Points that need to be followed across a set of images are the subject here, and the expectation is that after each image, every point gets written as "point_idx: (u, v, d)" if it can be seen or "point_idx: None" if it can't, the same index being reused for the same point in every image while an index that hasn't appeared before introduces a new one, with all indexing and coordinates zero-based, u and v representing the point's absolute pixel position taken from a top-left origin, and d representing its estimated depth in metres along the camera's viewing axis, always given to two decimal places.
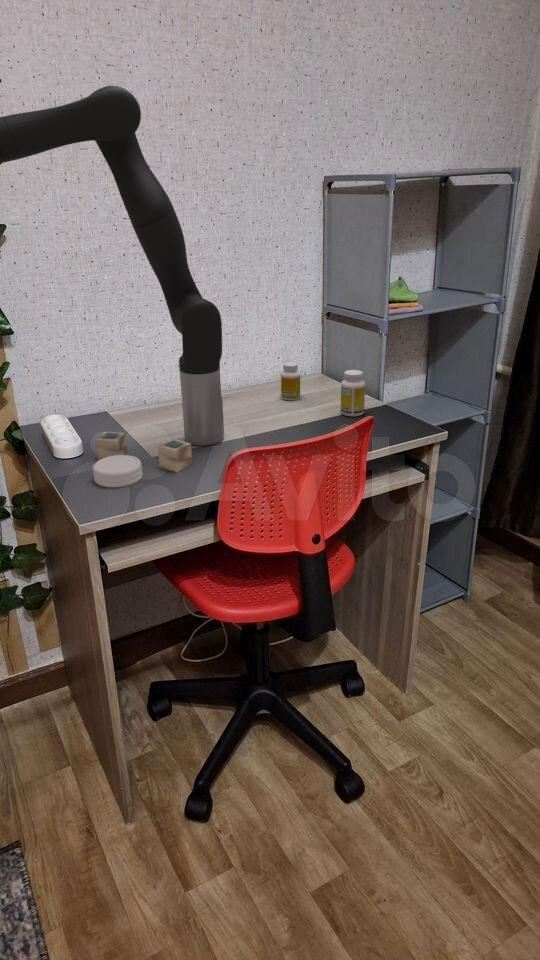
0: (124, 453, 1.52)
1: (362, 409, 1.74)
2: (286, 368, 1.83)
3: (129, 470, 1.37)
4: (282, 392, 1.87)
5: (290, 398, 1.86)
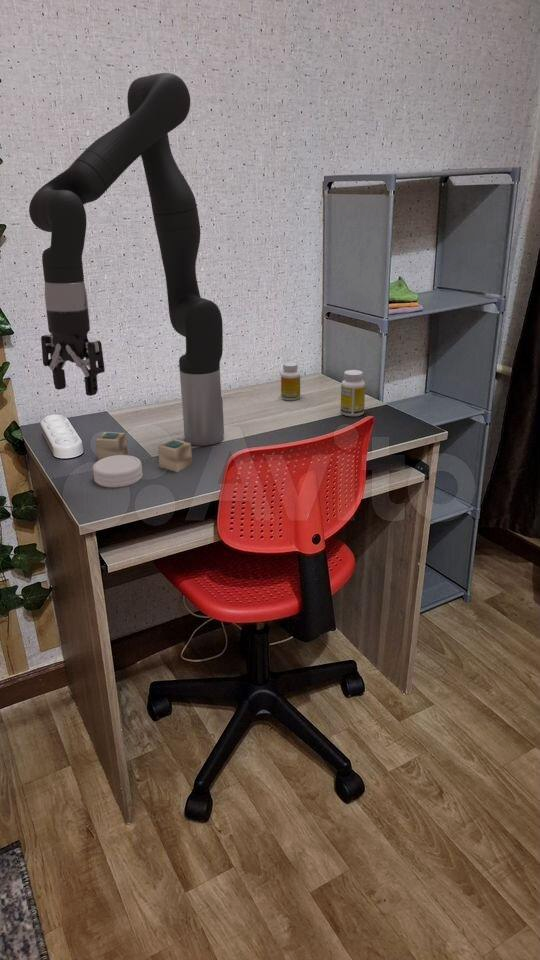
0: (124, 453, 1.52)
1: (362, 409, 1.74)
2: (286, 368, 1.83)
3: (129, 470, 1.37)
4: (282, 392, 1.87)
5: (290, 398, 1.86)
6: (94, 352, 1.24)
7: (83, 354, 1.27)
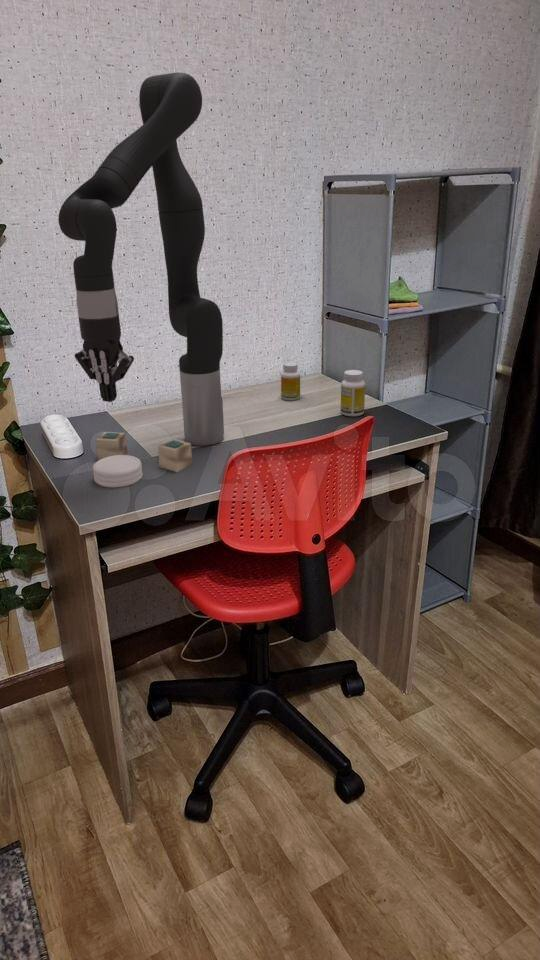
0: (124, 453, 1.52)
1: (362, 409, 1.74)
2: (286, 368, 1.83)
3: (129, 470, 1.37)
4: (282, 392, 1.87)
5: (290, 398, 1.86)
6: (124, 367, 1.29)
7: None
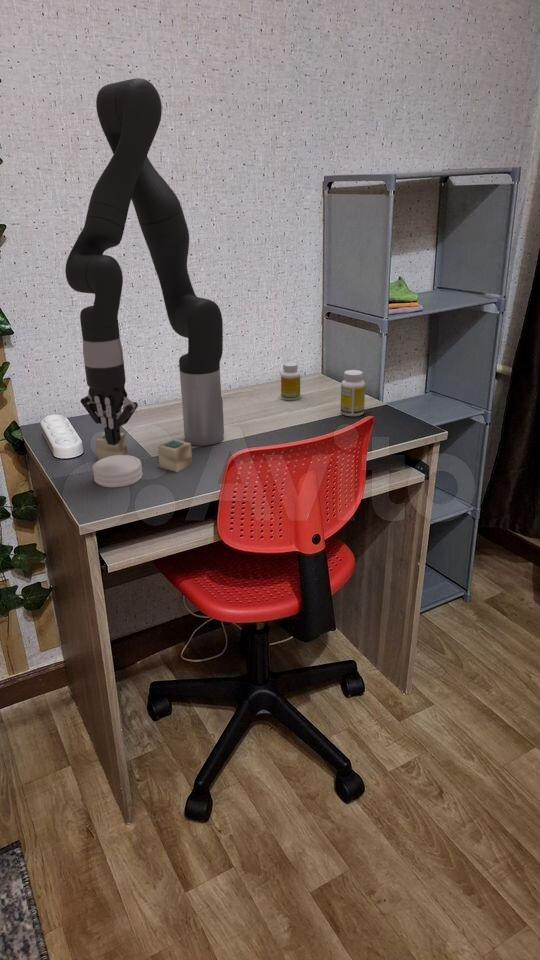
0: (124, 453, 1.52)
1: (362, 409, 1.74)
2: (286, 368, 1.83)
3: (129, 470, 1.37)
4: (282, 392, 1.87)
5: (290, 398, 1.86)
6: (128, 413, 1.33)
7: None
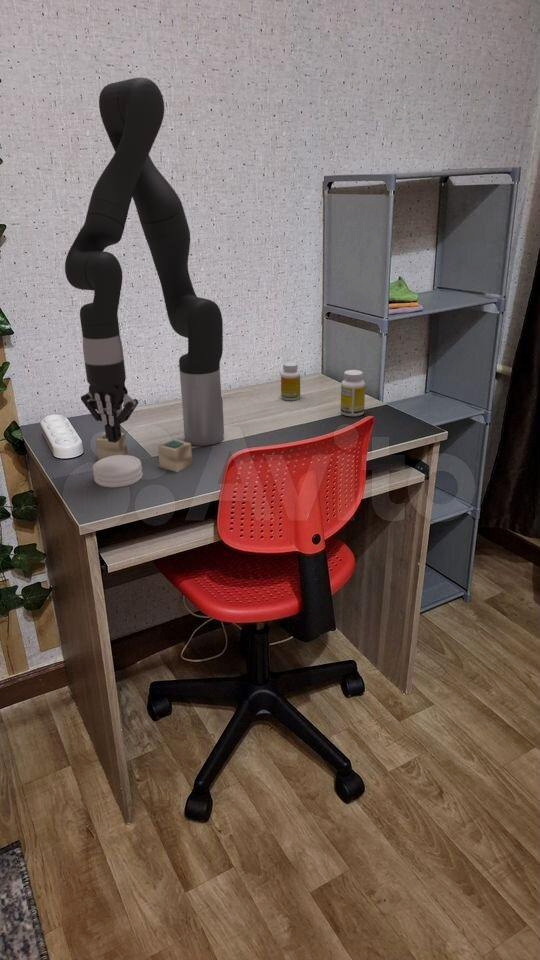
0: (124, 453, 1.52)
1: (362, 409, 1.74)
2: (286, 368, 1.83)
3: (129, 470, 1.37)
4: (282, 392, 1.87)
5: (290, 398, 1.86)
6: (129, 411, 1.32)
7: None
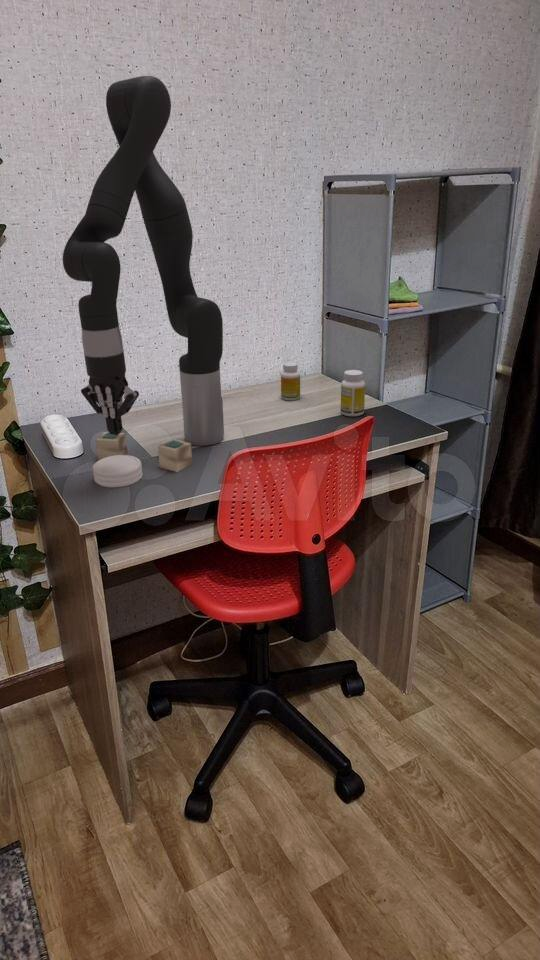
0: (124, 453, 1.52)
1: (362, 409, 1.74)
2: (286, 368, 1.83)
3: (129, 470, 1.37)
4: (282, 392, 1.87)
5: (290, 398, 1.86)
6: (130, 402, 1.32)
7: None
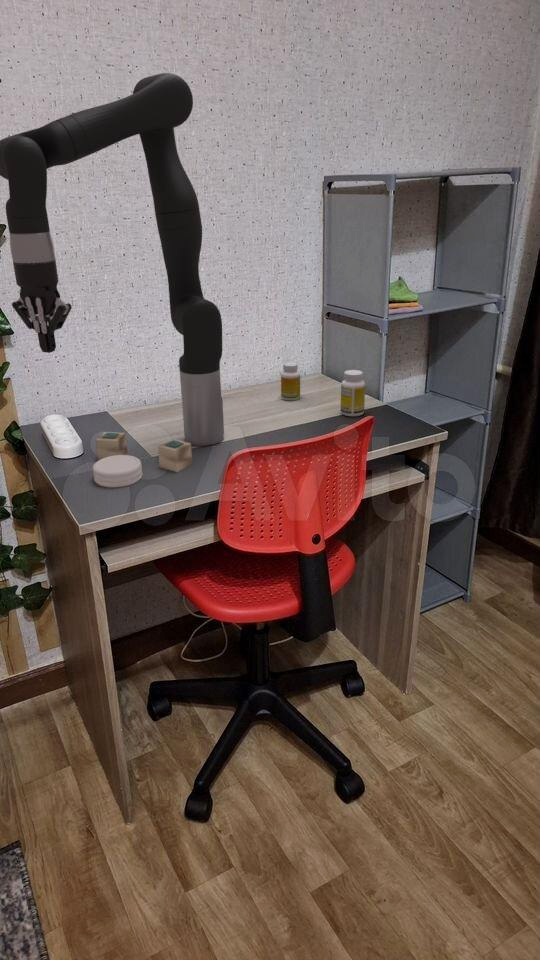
0: (124, 453, 1.52)
1: (362, 409, 1.74)
2: (286, 368, 1.83)
3: (129, 470, 1.37)
4: (282, 392, 1.87)
5: (290, 398, 1.86)
6: (61, 315, 1.25)
7: None
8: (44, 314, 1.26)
